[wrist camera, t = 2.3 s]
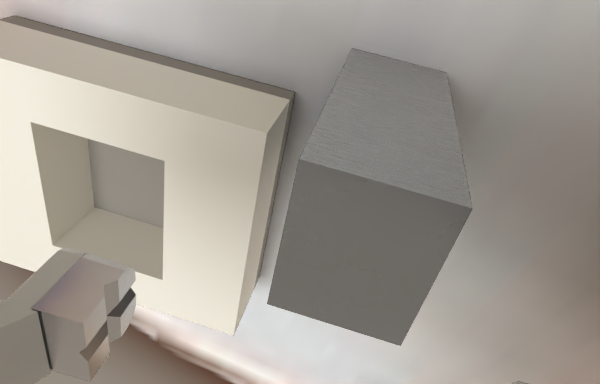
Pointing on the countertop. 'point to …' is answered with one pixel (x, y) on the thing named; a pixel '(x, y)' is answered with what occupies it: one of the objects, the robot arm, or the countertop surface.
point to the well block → (138, 167)
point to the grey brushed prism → (374, 200)
